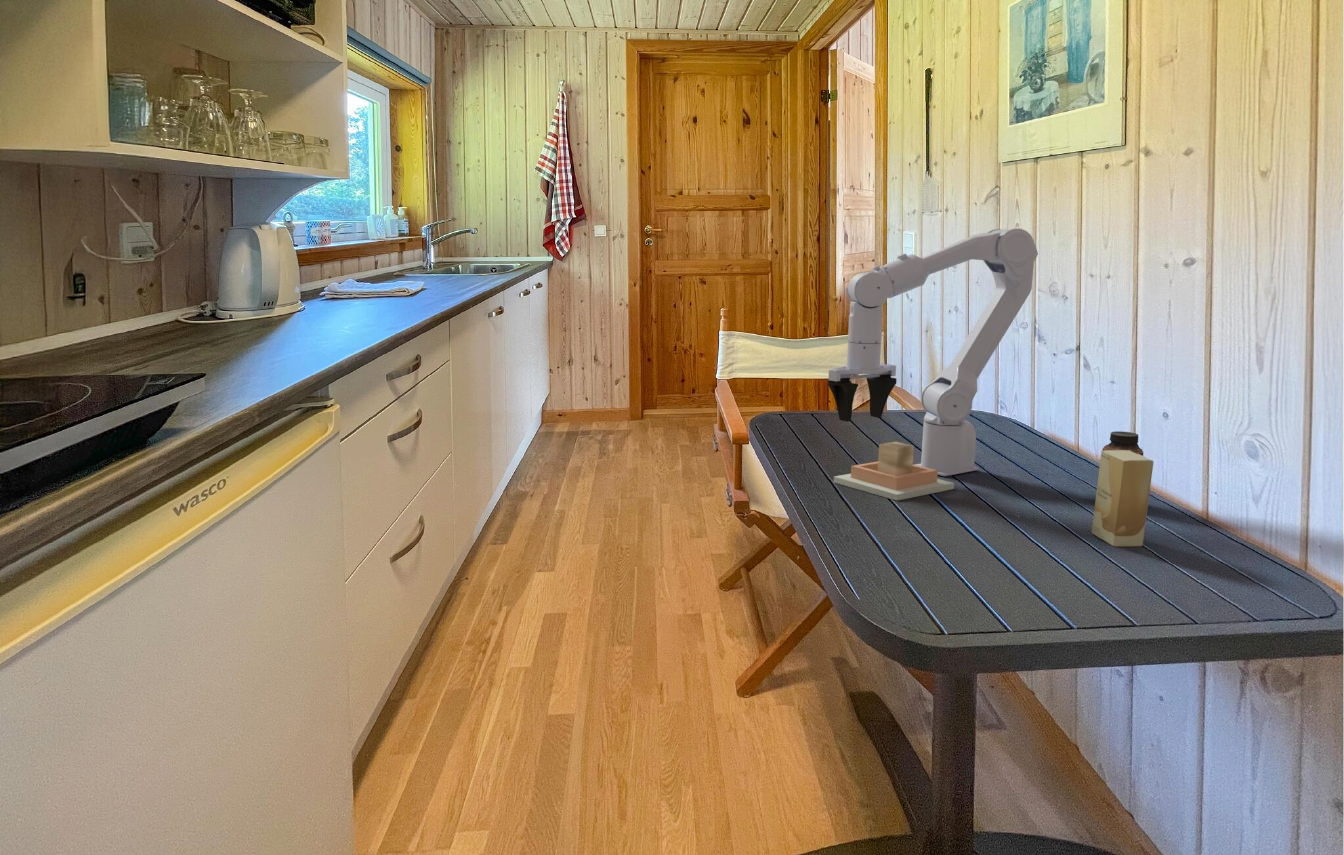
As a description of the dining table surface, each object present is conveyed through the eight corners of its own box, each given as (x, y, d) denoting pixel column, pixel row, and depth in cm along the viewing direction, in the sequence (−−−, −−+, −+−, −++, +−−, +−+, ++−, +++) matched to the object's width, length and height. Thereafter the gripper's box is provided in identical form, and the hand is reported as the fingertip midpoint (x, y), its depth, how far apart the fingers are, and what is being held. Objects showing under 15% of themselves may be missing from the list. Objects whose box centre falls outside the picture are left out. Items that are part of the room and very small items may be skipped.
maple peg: (893, 476, 164) (895, 441, 163) (911, 480, 161) (913, 445, 160) (877, 479, 162) (879, 444, 161) (895, 484, 159) (897, 448, 158)
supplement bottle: (1142, 509, 150) (1150, 438, 148) (1101, 506, 151) (1108, 435, 149) (1132, 499, 155) (1139, 430, 153) (1093, 497, 157) (1100, 428, 154)
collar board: (890, 472, 172) (891, 455, 171) (953, 488, 161) (955, 471, 160) (833, 482, 164) (834, 465, 163) (896, 500, 153) (897, 482, 152)
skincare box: (1090, 533, 136) (1098, 449, 134) (1119, 533, 137) (1128, 449, 135) (1114, 547, 130) (1123, 459, 128) (1145, 547, 131) (1155, 459, 128)
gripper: (850, 346, 161) (846, 426, 164) (910, 342, 169) (906, 418, 172) (821, 342, 167) (818, 419, 169) (881, 338, 175) (877, 412, 177)
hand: (860, 418), depth 171 cm, fingers open, 7 cm apart
